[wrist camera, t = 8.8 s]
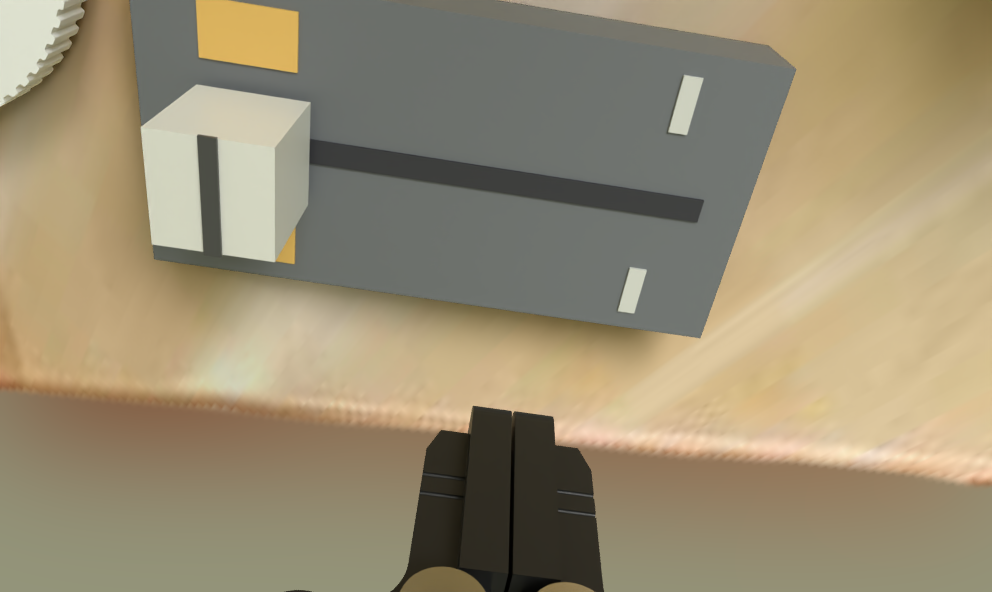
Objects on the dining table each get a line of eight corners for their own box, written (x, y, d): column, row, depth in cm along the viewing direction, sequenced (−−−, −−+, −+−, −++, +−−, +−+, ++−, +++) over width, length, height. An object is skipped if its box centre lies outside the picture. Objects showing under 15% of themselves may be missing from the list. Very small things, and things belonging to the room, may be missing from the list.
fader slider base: (167, -55, 24) (124, -42, 22) (768, 45, 25) (797, 70, 23) (185, 222, 30) (152, 260, 27) (685, 296, 31) (701, 339, 28)
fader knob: (196, 82, 23) (138, 126, 20) (310, 100, 23) (273, 146, 20) (202, 190, 25) (150, 247, 22) (307, 205, 25) (273, 265, 22)
